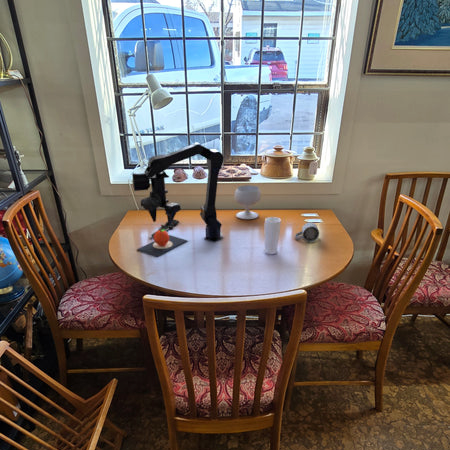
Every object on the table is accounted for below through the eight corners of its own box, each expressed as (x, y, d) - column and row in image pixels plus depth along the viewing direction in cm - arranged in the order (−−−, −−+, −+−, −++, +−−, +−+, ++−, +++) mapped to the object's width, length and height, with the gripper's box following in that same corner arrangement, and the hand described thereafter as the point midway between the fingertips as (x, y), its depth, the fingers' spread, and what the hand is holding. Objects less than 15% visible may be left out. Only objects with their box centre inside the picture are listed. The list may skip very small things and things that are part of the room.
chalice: (236, 211, 208) (236, 184, 200) (260, 212, 206) (262, 185, 198) (233, 220, 196) (233, 191, 188) (259, 221, 195) (260, 192, 187)
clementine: (164, 239, 173) (162, 225, 169) (174, 243, 169) (173, 228, 165) (151, 245, 168) (149, 230, 164) (161, 249, 164) (160, 234, 160)
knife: (154, 240, 174) (154, 238, 173) (143, 238, 176) (142, 235, 176) (182, 223, 193) (181, 220, 192) (171, 221, 195) (171, 218, 195)
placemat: (187, 241, 173) (187, 240, 172) (157, 257, 159) (157, 255, 159) (168, 235, 179) (167, 234, 178) (137, 250, 165) (137, 248, 165)
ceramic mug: (316, 235, 178) (318, 220, 173) (318, 242, 171) (320, 226, 167) (294, 235, 178) (295, 220, 174) (295, 242, 172) (296, 226, 167)
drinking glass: (268, 256, 159) (270, 223, 151) (260, 250, 164) (261, 218, 156) (281, 253, 161) (284, 220, 153) (272, 247, 166) (275, 215, 158)
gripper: (128, 189, 155) (134, 225, 163) (161, 197, 146) (165, 234, 154) (147, 183, 162) (151, 217, 171) (180, 190, 153) (182, 226, 162)
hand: (162, 223), depth 164 cm, fingers open, 9 cm apart
